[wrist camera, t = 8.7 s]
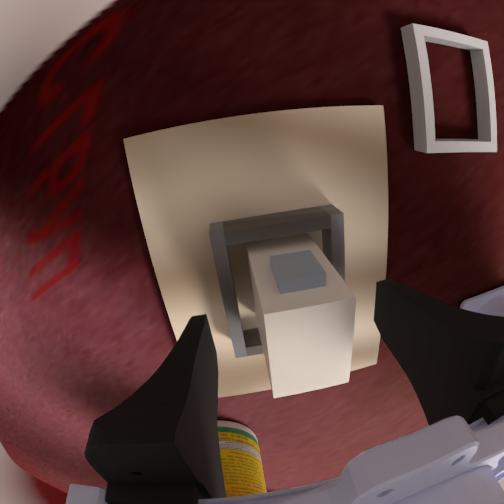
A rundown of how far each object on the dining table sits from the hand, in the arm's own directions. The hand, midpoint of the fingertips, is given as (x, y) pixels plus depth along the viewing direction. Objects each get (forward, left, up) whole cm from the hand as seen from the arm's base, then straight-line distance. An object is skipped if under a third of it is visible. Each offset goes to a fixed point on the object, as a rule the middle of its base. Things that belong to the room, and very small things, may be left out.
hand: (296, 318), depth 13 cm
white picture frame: (+9, -11, -4) cm, 15 cm away
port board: (0, 0, -4) cm, 4 cm away
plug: (0, 0, -4) cm, 4 cm away
